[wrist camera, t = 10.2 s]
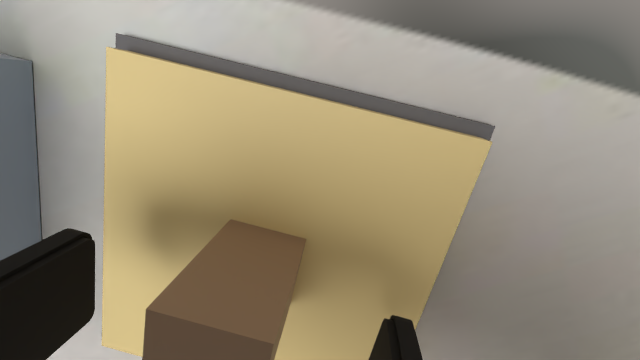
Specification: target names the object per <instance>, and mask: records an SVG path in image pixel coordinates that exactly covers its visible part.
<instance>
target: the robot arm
mask: <svg viewBox="0 0 640 360" xmlns="http://www.w3.org/2000/svg"><path fill="white" fill-rule="evenodd" d="M94 310H95V242H94V240H92V237H91V235H90V234H88V233H85V232H82V231H78V230H74V229H65V230H62V231H60V232H58V233H56V234H54V235H52V236H50V237H48V238H46V239H44V240H42V241H40V242H37V243H35V244H33V245H31V246H29V247H27V248H25V249H23V250H21V251H19V252H17V253H15V254H13V255H11V256H9V257H7V258H5V259H2V260H0V360H46V359H47V358H48V357H49V356H51V355H52V354H53V353H54V352H55V351H56V350H57V349H58V348H60V347H61V346H62V345H63V344H64V343H65V342H66V341H68V340H69V339H70V338H71V337H72V336H73V335H74V334H75V333H77V332H78V331H79V330H80V329H81V328H82V327H83V326H85V325H86V324H87V323H88V322H89V321H90V319H91V318H92V316H93V314H94ZM369 360H422V356H421V352H420V348H419V344H418V340H417V336H416V332H415V328H414V325H413V322H412V320H410V319H406V318H403V317H399V316H395V315H392V316H391V317H390V319H386V318H384V320H383V322H382V324H381V327H380V330H379V333H378V335H377V338H376V341H375V343H374V346H373V349H372V352H371V354H370V357H369Z"/></svg>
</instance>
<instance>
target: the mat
mask: <svg viewBox="0 0 640 360" xmlns="http://www.w3.org/2000/svg"><path fill="white" fill-rule="evenodd" d="M116 49H122V50H127V51H132V52H136V53H140V54H144V55H148V56H152V57H156V58H160V59H164V60H168V61H172V62H176V63H180V64H184V65H188V66H192V67H196V68H201V69H205V70H209V71H213V72H217V73H221V74H225V75H229V76H233V77H237V78H241V79H245V80H249V81H253V82H257V83H261V84H265V85H269V86H274V87H278V88H282V89H286V90H290V91H294V92H298V93H302V94H306V95H310V96H314V97H318V98H322V99H326V100H330V101H334V102H338V103H343V104H347V105H351V106H355V107H359V108H363V109H367V110H371V111H375V112H379V113H383V114H387V115H391V116H395V117H399V118H403V119H407V120H411V121H416V122H420V123H424V124H428V125H432V126H436V127H440V128H444V129H448V130H452V131H456V132H460V133H464V134H468V135H472V136H476V137H480V138H483V139H486V140H488V141H489V140H490V138H491V135H492V133H493V130H494V128H495V126H492V125H488V124H484V123H480V122H476V121H472V120H468V119H464V118H460V117H456V116H452V115H448V114H444V113H440V112H435V111H431V110H427V109H423V108H419V107H415V106H411V105H407V104H403V103H399V102H395V101H391V100H387V99H382V98H378V97H374V96H370V95H366V94H362V93H358V92H354V91H350V90H346V89H342V88H338V87H334V86H330V85H325V84H321V83H317V82H313V81H309V80H305V79H301V78H297V77H293V76H289V75H285V74H281V73H277V72H273V71H268V70H264V69H260V68H256V67H252V66H248V65H244V64H240V63H236V62H232V61H228V60H224V59H220V58H215V57H211V56H207V55H203V54H199V53H195V52H191V51H187V50H183V49H179V48H175V47H171V46H167V45H163V44H158V43H154V42H150V41H146V40H142V39H138V38H134V37H130V36H126V35H122V34H117V33H116Z"/></svg>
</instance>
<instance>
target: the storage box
mask: <svg viewBox="0 0 640 360" xmlns="http://www.w3.org/2000/svg"><path fill="white" fill-rule="evenodd" d="M40 241H42V239H41V221H40V203H39V184H38V166H37V147H36V129H35V111H34V92H33V74H32V61H29V60H25V59H21V58H17V57H13V56H9V55H5V54H1V53H0V260H2V259H5V258H7V257H9V256H11V255H13V254H15V253H17V252H19V251H21V250H23V249H25V248H27V247H29V246H31V245H33V244H35V243H37V242H40Z"/></svg>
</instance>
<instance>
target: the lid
mask: <svg viewBox="0 0 640 360" xmlns="http://www.w3.org/2000/svg"><path fill="white" fill-rule="evenodd" d="M491 144H492V142H491V141H488V140H486V139H483V138H480V137H476V136H472V135H468V134H464V133H460V132H456V131H452V130H448V129H444V128H440V127H436V126H432V125H428V124H424V123H420V122H416V121H411V120H407V119H403V118H399V117H395V116H391V115H387V114H383V113H379V112H375V111H371V110H367V109H363V108H359V107H355V106H351V105H347V104H343V103H338V102H334V101H330V100H326V99H322V98H318V97H314V96H310V95H306V94H302V93H298V92H294V91H290V90H286V89H282V88H278V87H274V86H269V85H265V84H261V83H257V82H253V81H249V80H245V79H241V78H237V77H233V76H229V75H225V74H221V73H217V72H213V71H209V70H205V69H201V68H196V67H192V66H188V65H184V64H180V63H176V62H172V61H168V60H164V59H160V58H156V57H152V56H148V55H144V54H140V53H136V52H132V51H127V50H122V49H116V48H110V47H106V107H105V172H104V237H103V303H102V346H105V347H109V348H112V349H116V350H119V351H123V352H126V353H130V354H134V355H137V356H141V357H142V360H369V357H370V354H371V352H372V349H373V346H374V343H375V341H376V338H377V335H378V333H379V330H380V327H381V324H382V322H383V320H384V318H386V319H390V317H391V316H392V315H395V316H399V317H403V318H406V319H410V320H412V322H413V325H414V328H415V329H416V327H417V324H418V322H419V319H420V317H421V314H422V312H423V310H424V307H425V305H426V302H427V300H428V297H429V295H430V293H431V290H432V288H433V285H434V283H435V280H436V278H437V276H438V273H439V271H440V268H441V266H442V263H443V261H444V259H445V256H446V254H447V251H448V249H449V246H450V244H451V242H452V239H453V237H454V234H455V232H456V229H457V227H458V225H459V222H460V220H461V217H462V215H463V212H464V210H465V208H466V205H467V203H468V200H469V198H470V195H471V193H472V191H473V188H474V186H475V183H476V181H477V178H478V176H479V174H480V171H481V169H482V166H483V164H484V161H485V159H486V157H487V154H488V152H489V149H490V147H491Z"/></svg>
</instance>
